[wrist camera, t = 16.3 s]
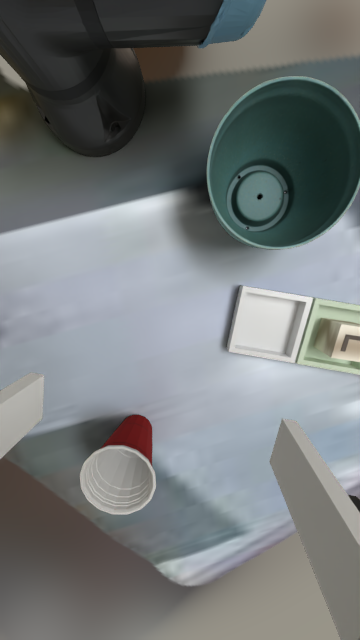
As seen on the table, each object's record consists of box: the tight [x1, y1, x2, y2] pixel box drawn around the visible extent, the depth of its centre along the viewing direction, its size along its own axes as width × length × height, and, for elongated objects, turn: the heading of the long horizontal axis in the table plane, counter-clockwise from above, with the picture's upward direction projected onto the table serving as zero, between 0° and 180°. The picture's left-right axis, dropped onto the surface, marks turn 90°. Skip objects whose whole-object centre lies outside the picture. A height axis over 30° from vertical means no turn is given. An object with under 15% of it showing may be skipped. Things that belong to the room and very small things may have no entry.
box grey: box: [227, 285, 313, 363], centre depth 36 cm, size 11×11×2 cm
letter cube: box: [313, 318, 360, 362], centre depth 35 cm, size 5×5×5 cm
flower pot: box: [207, 76, 360, 250], centre depth 29 cm, size 16×16×11 cm
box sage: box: [295, 297, 360, 375], centre depth 36 cm, size 11×11×2 cm
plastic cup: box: [80, 415, 156, 514], centre depth 37 cm, size 11×11×12 cm
